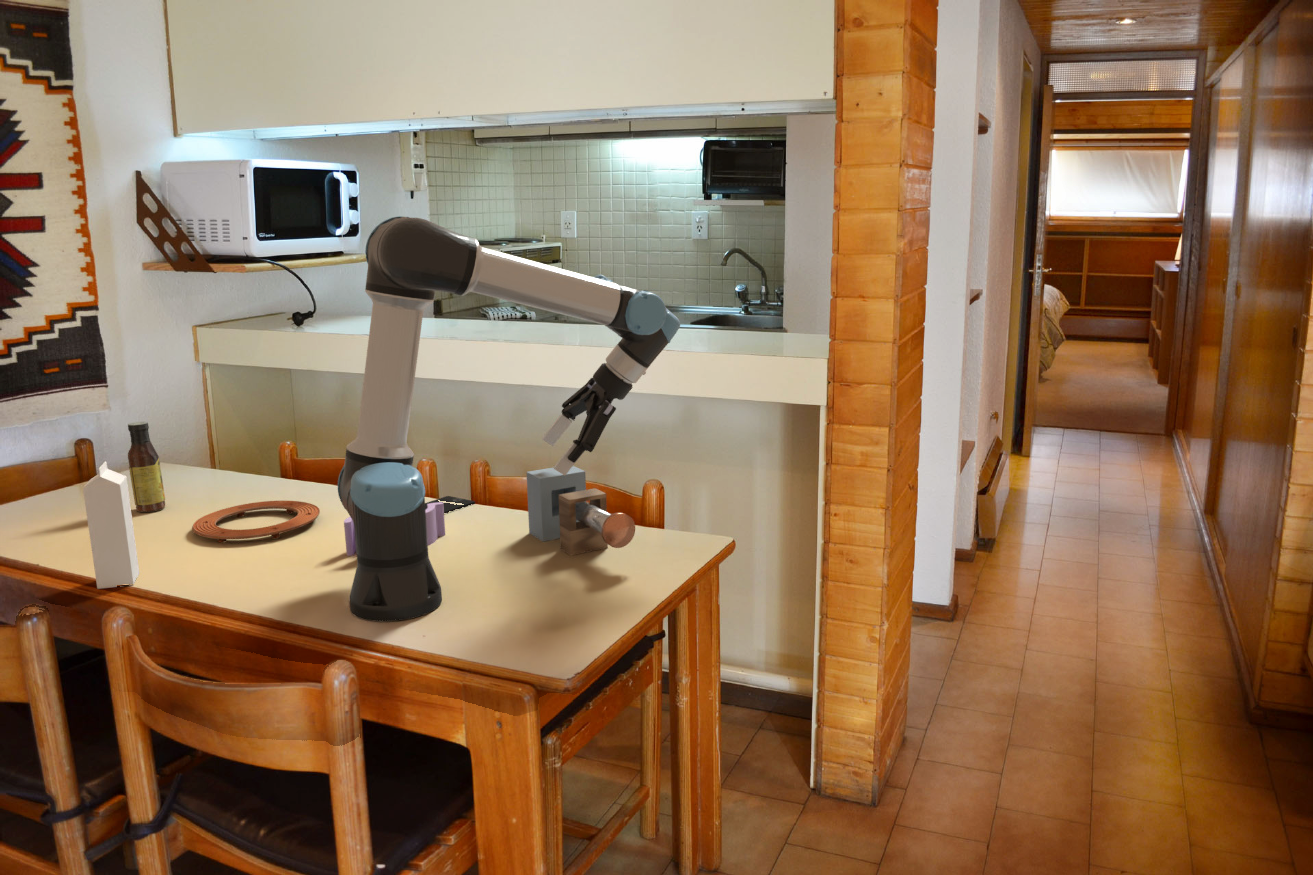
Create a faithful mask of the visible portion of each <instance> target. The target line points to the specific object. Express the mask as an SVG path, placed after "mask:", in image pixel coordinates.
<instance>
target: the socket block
mask: <svg viewBox="0 0 1313 875" xmlns="http://www.w3.org/2000/svg"><path fill="white" fill-rule="evenodd" d="M586 478H587V477H586V470H584V469H581V468H579V467H577V466H575V465H573V466H572V468H571V469H570V470H569V471H568V473H567V474H566V475H563V474H561V473H560V472H558V471H556V470H555V469H554V468H553V467H548V468H543V469H536V470H530V471H526V487H527V488H526V490H527V492H526V494H527V513H528V515H527V516H528V533H529V534H530V535H532V536H533V537H535V538H536V539H538V540H539V541H541V542H547V541H553V540H558V539H559V540H560V519H559V495H560V494H565V493H571V492H577V491H583V490H587V487H586V486H587V484H586ZM576 522H580V521H578V520H576Z"/></svg>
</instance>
